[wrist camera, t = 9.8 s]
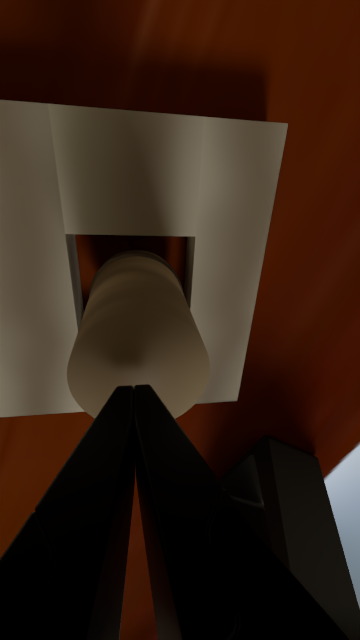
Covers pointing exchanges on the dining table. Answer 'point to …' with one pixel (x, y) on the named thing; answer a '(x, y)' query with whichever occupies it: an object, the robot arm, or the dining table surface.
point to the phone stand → (296, 523)
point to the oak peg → (137, 336)
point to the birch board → (126, 229)
